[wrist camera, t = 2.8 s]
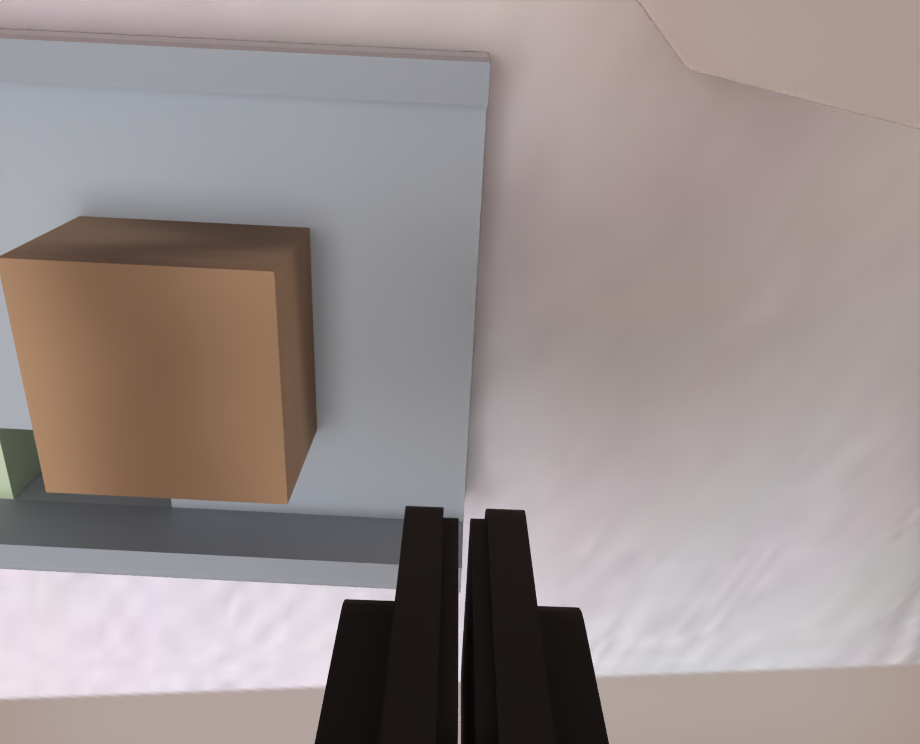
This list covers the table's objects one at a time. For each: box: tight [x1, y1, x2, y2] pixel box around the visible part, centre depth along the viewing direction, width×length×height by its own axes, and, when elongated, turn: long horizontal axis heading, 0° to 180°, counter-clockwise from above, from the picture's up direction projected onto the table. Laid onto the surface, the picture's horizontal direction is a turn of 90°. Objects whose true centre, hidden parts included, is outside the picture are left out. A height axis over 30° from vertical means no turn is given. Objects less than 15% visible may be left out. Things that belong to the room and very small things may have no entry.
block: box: [0, 216, 317, 505], centre depth 18 cm, size 6×6×4 cm
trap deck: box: [0, 28, 490, 592], centre depth 20 cm, size 22×13×4 cm, turn 87°
